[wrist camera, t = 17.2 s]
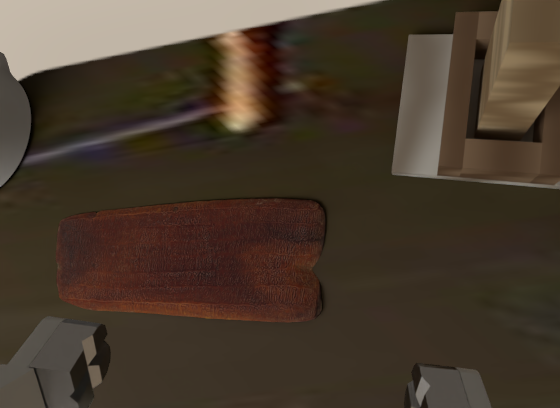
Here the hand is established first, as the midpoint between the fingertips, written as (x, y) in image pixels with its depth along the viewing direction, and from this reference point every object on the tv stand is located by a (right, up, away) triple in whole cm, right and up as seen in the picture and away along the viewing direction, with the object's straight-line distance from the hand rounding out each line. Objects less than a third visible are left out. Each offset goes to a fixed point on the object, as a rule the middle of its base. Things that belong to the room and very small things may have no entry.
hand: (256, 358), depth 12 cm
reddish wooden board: (-8, -1, +28) cm, 29 cm away
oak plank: (+16, +11, +20) cm, 28 cm away
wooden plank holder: (+17, +11, +21) cm, 29 cm away
